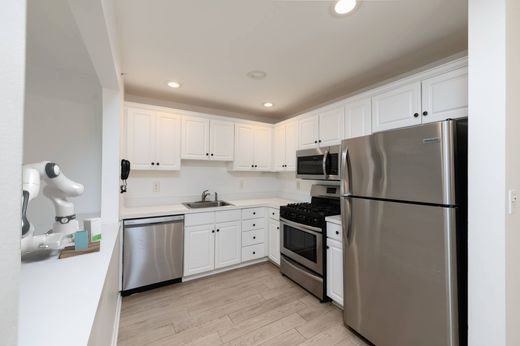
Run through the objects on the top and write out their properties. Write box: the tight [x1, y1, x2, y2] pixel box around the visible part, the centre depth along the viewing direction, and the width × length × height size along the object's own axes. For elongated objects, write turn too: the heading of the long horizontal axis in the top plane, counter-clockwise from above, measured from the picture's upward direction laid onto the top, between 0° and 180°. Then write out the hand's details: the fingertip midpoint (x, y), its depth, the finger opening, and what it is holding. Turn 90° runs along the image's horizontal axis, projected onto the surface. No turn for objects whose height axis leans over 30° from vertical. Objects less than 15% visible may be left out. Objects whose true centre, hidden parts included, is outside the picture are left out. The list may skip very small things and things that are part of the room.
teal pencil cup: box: [73, 229, 88, 250], centre depth 138 cm, size 6×6×10 cm
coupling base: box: [59, 240, 101, 260], centre depth 138 cm, size 18×18×10 cm
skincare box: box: [83, 217, 103, 243], centre depth 154 cm, size 8×7×16 cm
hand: (72, 237), depth 135 cm, fingers open, 8 cm apart
